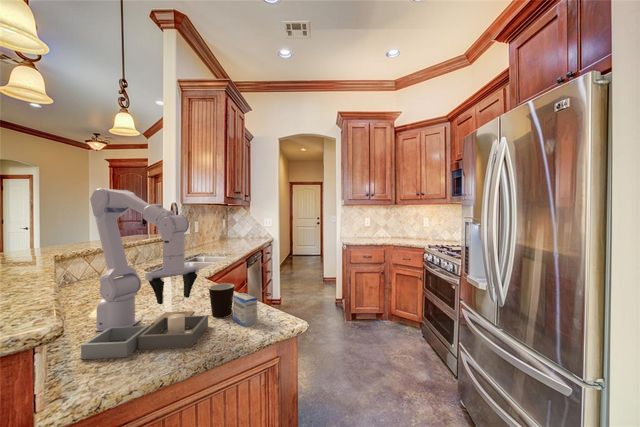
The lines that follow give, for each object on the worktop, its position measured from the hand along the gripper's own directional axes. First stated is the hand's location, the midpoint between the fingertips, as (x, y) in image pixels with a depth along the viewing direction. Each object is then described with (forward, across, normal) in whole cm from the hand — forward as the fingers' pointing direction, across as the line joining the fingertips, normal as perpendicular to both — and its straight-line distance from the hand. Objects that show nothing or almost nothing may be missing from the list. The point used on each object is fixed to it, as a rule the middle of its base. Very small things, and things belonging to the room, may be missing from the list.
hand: (173, 300), depth 81 cm
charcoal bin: (+10, -1, -3) cm, 10 cm away
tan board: (+10, +5, +12) cm, 17 cm away
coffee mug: (+10, +19, +3) cm, 21 cm away
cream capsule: (+10, -1, -3) cm, 10 cm away
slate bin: (+10, -13, +2) cm, 17 cm away
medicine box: (+10, +18, -10) cm, 23 cm away
